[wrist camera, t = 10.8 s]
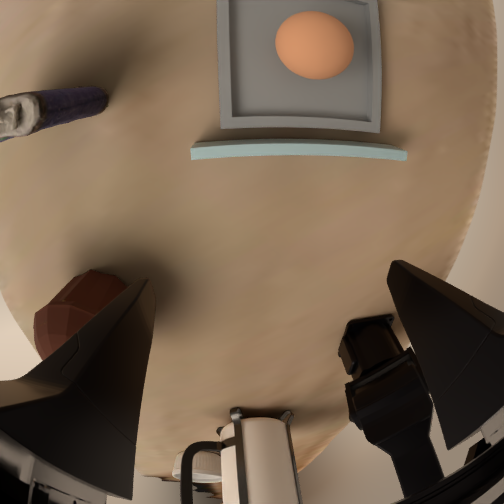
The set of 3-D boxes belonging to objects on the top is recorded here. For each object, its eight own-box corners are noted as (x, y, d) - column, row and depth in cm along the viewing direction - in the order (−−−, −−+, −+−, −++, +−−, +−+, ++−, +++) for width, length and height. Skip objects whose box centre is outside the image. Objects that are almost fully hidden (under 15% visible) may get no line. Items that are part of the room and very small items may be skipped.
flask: (26, 134, 16) (-60, 171, 7) (24, 103, 14) (-64, 127, 5) (110, 114, 17) (22, 137, 8) (110, 79, 15) (21, 75, 6)
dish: (370, 1, 13) (376, -2, 12) (372, 131, 19) (379, 133, 18) (217, -15, 12) (216, -21, 11) (221, 127, 18) (220, 129, 17)
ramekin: (162, 450, 52) (161, 473, 46) (204, 446, 50) (204, 472, 44) (194, 462, 59) (194, 483, 53) (234, 458, 56) (236, 480, 50)
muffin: (140, 256, 23) (105, 340, 15) (166, 338, 29) (154, 416, 21) (45, 263, 23) (-2, 328, 14) (81, 336, 29) (57, 400, 20)
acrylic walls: (388, -8, 12) (403, -15, 10) (390, 153, 20) (406, 161, 18) (190, -28, 11) (185, -42, 9) (195, 153, 19) (191, 159, 17)
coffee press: (278, 392, 37) (308, 575, 12) (302, 423, 45) (328, 555, 20) (180, 413, 39) (179, 571, 14) (222, 440, 47) (230, 563, 22)
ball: (333, 26, 14) (365, 11, 10) (335, 84, 17) (369, 82, 13) (267, 19, 14) (284, -4, 10) (269, 80, 16) (287, 73, 12)
